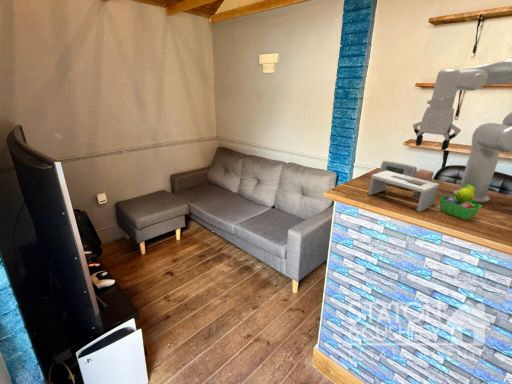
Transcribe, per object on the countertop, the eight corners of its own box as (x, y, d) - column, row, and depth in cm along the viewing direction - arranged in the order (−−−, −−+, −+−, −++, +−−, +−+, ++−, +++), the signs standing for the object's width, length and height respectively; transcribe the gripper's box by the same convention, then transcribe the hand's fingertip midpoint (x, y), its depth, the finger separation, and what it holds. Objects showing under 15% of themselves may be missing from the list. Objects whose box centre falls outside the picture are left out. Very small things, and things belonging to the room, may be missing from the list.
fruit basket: (435, 209, 107) (442, 182, 102) (449, 206, 110) (457, 179, 106) (466, 222, 97) (475, 192, 93) (480, 217, 100) (491, 189, 96)
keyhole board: (382, 188, 127) (386, 170, 124) (433, 204, 111) (439, 183, 108) (368, 194, 121) (371, 174, 118) (419, 211, 104) (425, 189, 101)
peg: (415, 192, 123) (421, 169, 119) (427, 196, 119) (433, 172, 115) (410, 195, 120) (416, 171, 116) (422, 198, 117) (428, 174, 112)
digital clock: (374, 181, 137) (377, 161, 133) (385, 178, 142) (389, 158, 138) (405, 191, 125) (410, 169, 121) (415, 188, 129) (421, 166, 125)
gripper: (414, 103, 110) (405, 144, 116) (463, 105, 97) (450, 152, 103) (422, 102, 114) (413, 143, 120) (471, 105, 101) (458, 150, 108)
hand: (430, 147), depth 112 cm, fingers open, 9 cm apart
